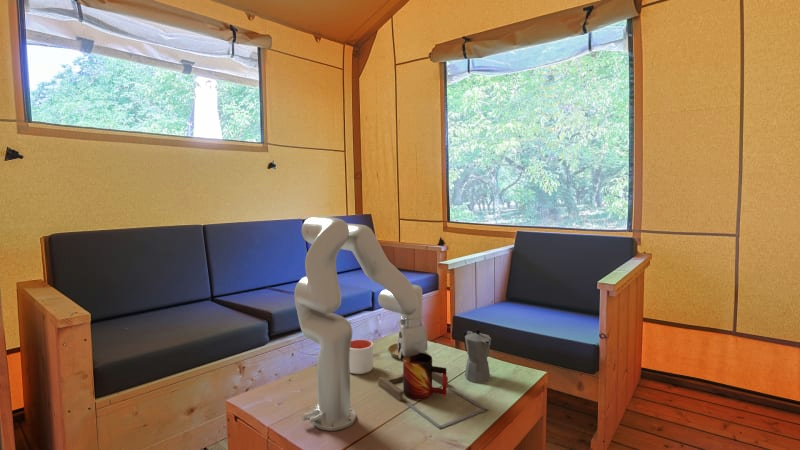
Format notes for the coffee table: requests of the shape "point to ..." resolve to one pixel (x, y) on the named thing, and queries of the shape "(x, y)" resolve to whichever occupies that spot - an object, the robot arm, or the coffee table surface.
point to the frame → (453, 420)
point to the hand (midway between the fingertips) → (412, 372)
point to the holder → (394, 390)
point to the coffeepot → (477, 356)
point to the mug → (421, 377)
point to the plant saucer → (394, 350)
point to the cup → (361, 356)
